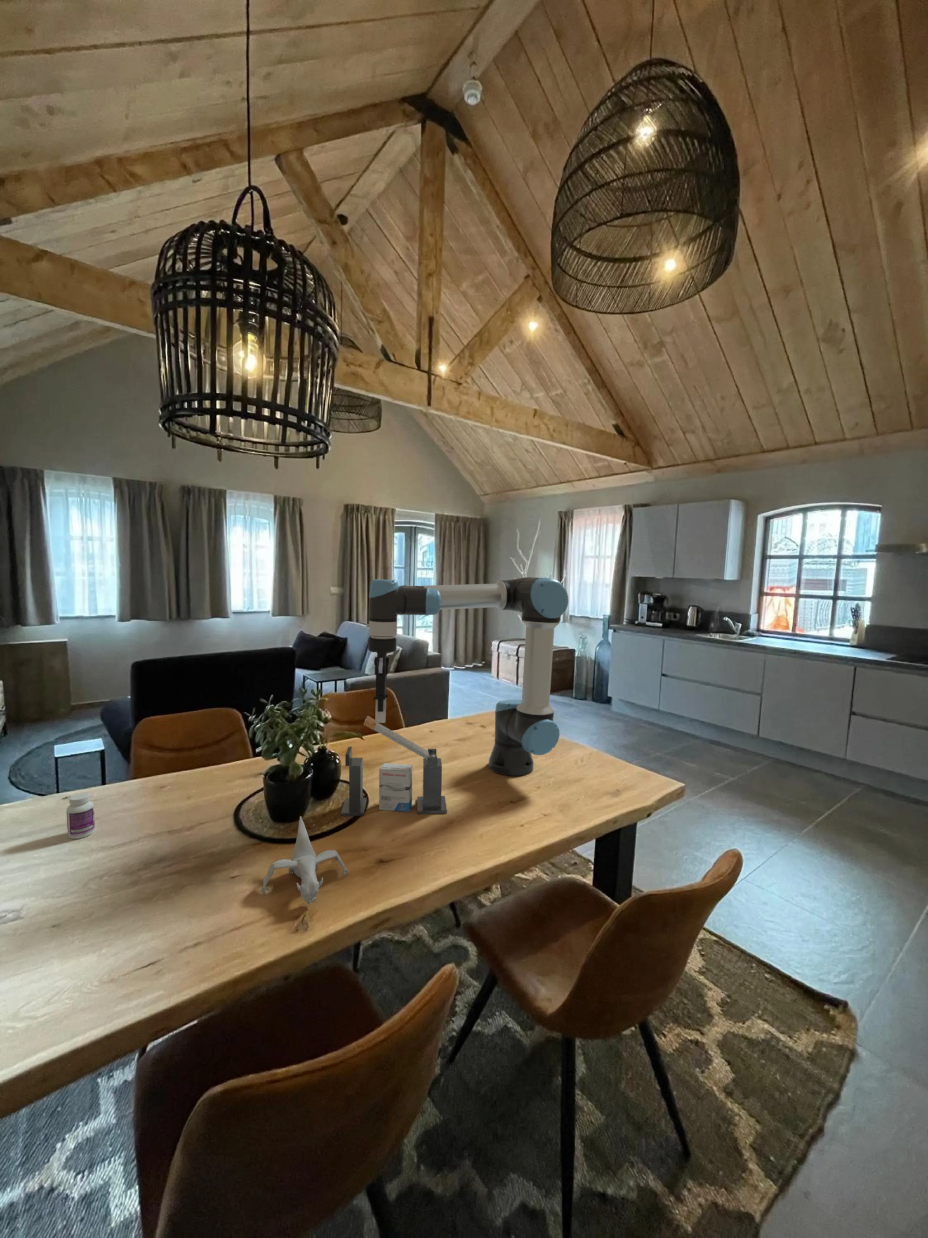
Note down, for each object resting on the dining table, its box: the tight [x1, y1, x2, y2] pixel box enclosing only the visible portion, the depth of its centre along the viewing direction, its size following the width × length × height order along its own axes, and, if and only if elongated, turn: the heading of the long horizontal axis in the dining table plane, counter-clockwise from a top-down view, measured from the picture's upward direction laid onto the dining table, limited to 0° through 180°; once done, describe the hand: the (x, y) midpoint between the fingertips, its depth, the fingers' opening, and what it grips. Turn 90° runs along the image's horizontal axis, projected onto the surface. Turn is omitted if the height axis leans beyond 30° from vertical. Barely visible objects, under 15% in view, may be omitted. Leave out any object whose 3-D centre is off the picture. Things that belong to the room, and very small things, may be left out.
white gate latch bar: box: [363, 715, 435, 759], centre depth 139 cm, size 22×5×2 cm, turn 96°
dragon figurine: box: [260, 815, 349, 904], centre depth 106 cm, size 15×15×9 cm
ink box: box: [378, 762, 413, 813], centre depth 140 cm, size 8×5×12 cm, turn 84°
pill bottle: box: [66, 792, 96, 840], centre depth 123 cm, size 5×5×10 cm
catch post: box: [340, 746, 368, 817], centre depth 139 cm, size 6×9×16 cm, turn 6°
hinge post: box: [416, 748, 448, 815], centre depth 141 cm, size 8×9×16 cm
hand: (380, 721), depth 138 cm, fingers closed
